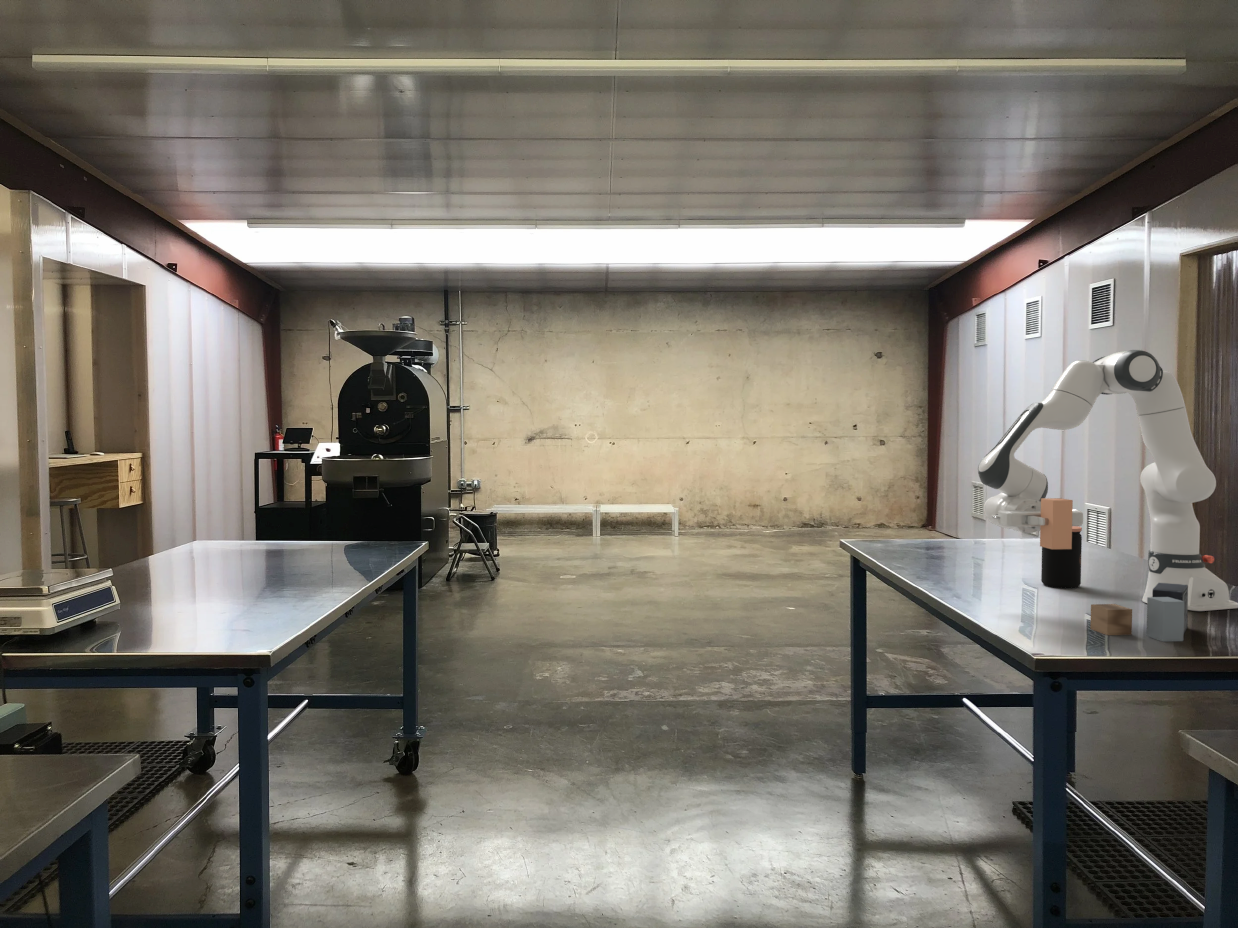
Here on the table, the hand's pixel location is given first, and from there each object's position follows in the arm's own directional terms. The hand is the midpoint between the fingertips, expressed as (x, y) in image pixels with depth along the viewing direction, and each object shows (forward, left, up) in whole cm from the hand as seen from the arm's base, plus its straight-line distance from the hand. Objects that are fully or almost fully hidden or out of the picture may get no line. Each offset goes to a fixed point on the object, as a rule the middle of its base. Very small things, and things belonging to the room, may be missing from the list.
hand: (1058, 521), depth 204 cm
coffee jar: (-30, -45, -25) cm, 60 cm away
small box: (-22, +10, -25) cm, 35 cm away
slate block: (-15, +17, -25) cm, 34 cm away
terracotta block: (0, -1, -6) cm, 7 cm away
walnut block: (-7, +10, -25) cm, 28 cm away
